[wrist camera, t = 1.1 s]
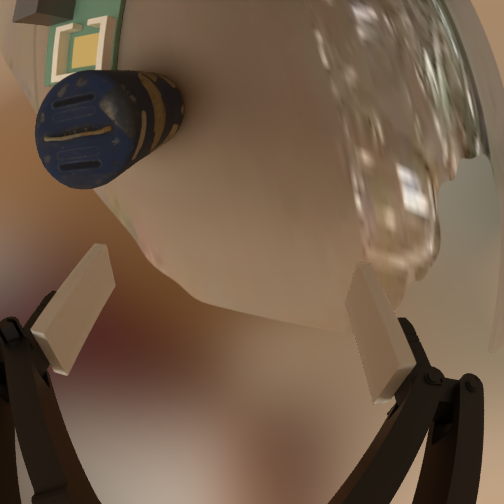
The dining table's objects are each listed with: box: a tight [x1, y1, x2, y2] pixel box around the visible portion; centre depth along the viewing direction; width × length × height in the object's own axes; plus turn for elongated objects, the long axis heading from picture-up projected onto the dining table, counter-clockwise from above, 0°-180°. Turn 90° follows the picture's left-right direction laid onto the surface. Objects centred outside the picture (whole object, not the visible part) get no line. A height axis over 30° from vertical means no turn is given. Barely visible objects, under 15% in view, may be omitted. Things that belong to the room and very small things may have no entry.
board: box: [44, 0, 125, 86], centre depth 25 cm, size 13×11×1 cm
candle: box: [35, 70, 184, 189], centre depth 24 cm, size 10×10×18 cm
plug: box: [13, 0, 76, 26], centre depth 19 cm, size 4×4×8 cm
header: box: [51, 16, 116, 83], centre depth 25 cm, size 8×8×2 cm
